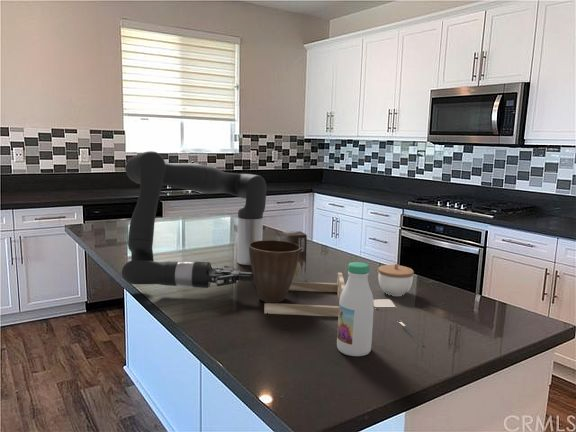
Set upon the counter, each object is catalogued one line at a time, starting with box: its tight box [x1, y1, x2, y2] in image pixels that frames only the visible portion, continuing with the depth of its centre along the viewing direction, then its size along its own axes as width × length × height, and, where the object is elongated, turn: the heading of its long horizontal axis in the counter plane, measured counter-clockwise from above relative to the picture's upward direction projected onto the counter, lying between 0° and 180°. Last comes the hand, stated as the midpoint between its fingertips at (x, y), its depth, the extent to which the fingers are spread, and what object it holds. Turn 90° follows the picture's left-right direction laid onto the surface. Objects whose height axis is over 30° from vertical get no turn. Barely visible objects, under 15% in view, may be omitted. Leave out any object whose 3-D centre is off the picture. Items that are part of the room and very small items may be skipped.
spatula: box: [373, 298, 421, 342], centre depth 121 cm, size 6×29×2 cm, turn 9°
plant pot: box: [249, 239, 301, 304], centre depth 134 cm, size 15×15×16 cm
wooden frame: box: [263, 272, 346, 317], centre depth 134 cm, size 21×22×6 cm
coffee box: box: [275, 231, 308, 282], centre depth 153 cm, size 9×6×16 cm
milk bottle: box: [336, 261, 375, 357], centre depth 103 cm, size 8×8×20 cm
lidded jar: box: [377, 263, 415, 297], centre depth 143 cm, size 11×11×9 cm
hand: (252, 276), depth 133 cm, fingers closed
